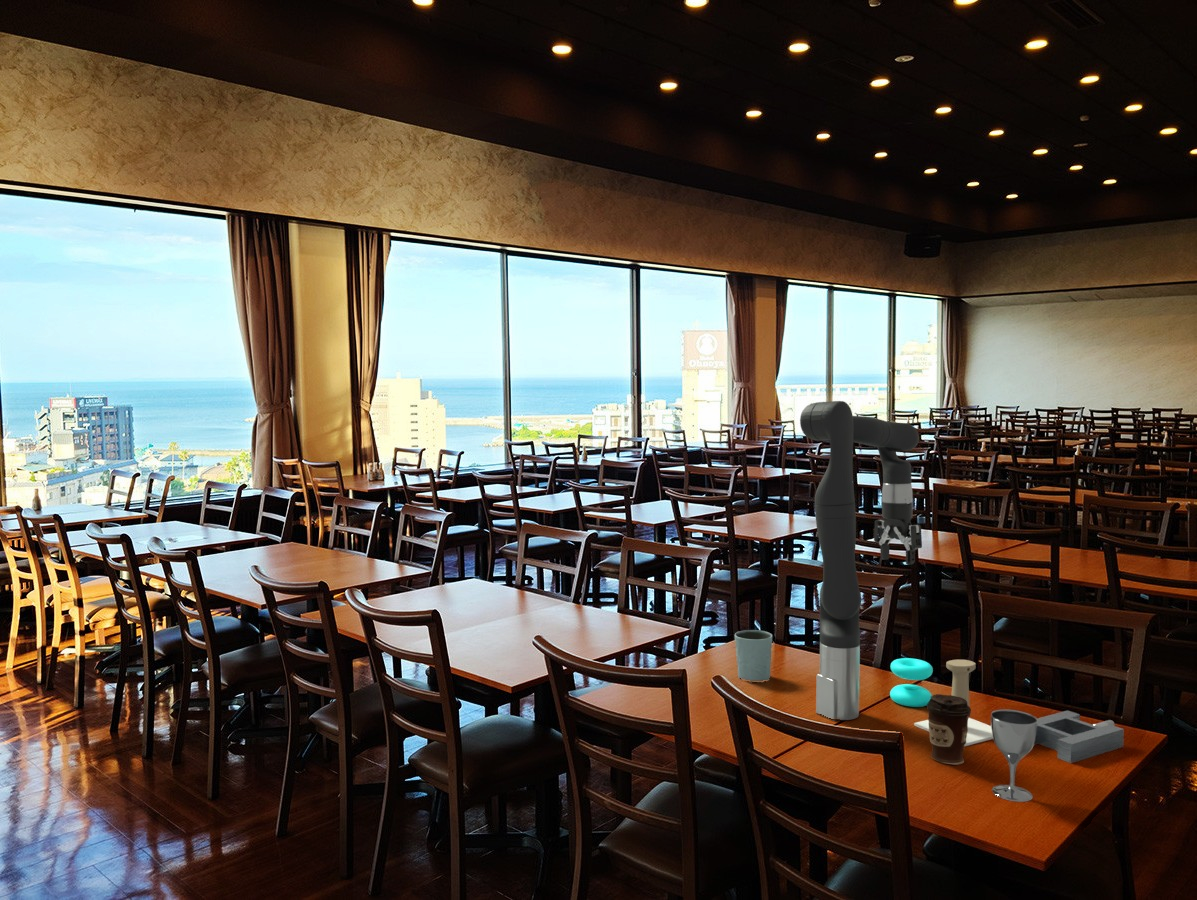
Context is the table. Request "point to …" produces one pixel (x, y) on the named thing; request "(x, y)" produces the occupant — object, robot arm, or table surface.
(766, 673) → the grey-green tapered cup
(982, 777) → the table surface
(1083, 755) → the vise
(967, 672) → the handle
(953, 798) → the table surface
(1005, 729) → the wine glass
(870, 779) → the table surface
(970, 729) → the mat
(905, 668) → the donuts
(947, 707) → the coffee cup
